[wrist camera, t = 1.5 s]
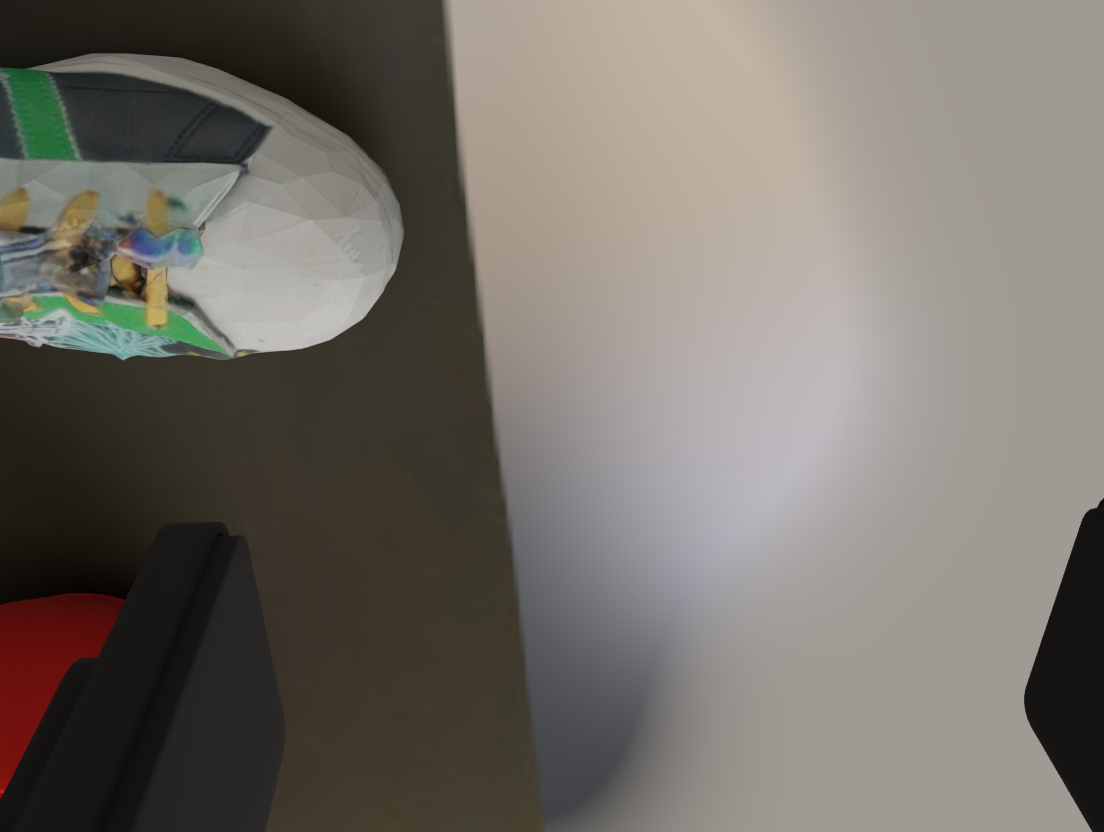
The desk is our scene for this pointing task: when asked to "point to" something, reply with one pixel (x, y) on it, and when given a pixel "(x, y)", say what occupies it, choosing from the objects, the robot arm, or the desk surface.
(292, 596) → the desk surface
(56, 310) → the sneaker
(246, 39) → the desk surface
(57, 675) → the ceramic cup
